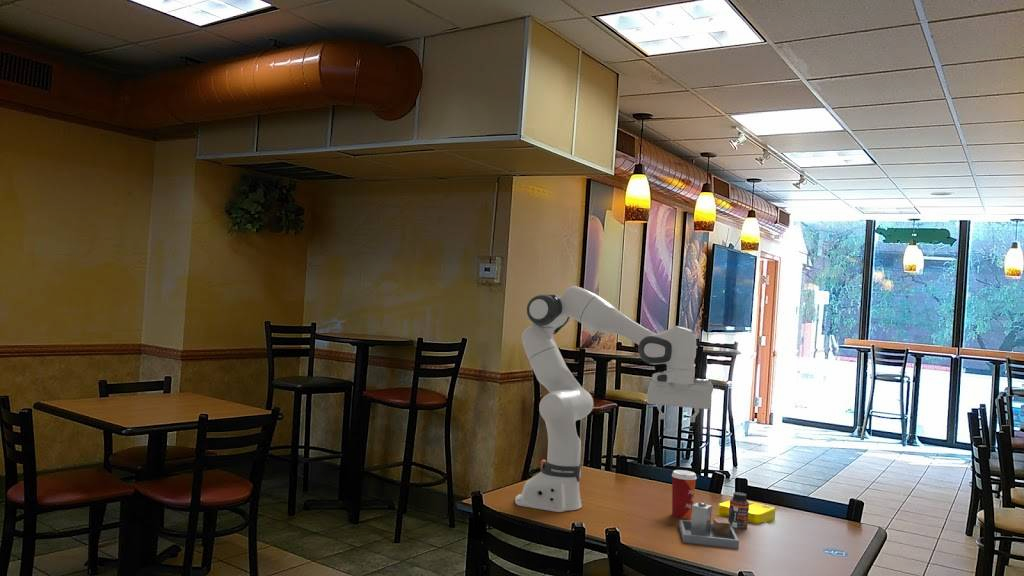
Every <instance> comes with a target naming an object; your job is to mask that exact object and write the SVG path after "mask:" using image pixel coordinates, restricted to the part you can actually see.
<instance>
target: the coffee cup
mask: <svg viewBox="0 0 1024 576" xmlns="http://www.w3.org/2000/svg"><path fill="white" fill-rule="evenodd" d="M671 479H672V480H671V481H672V482H671V483H672V485H671V487H672V488H671V506H672V507H671V510H672V512H671V513H672V516H673V517H675V518H678V519H683V520H687V519H692V505H694V497H695V490H696V480H697V479H698V477H697V473H695V472H694V471H691V470H686V469H685V470H683V469H675V470H673V471H672V474H671Z"/></svg>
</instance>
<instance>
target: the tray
mask: <svg viewBox="0 0 1024 576" xmlns="http://www.w3.org/2000/svg"><path fill="white" fill-rule="evenodd" d="M691 521H692V520H687V519H679V525H678V527H679V531H680V534H681V540H682V542H683V543H687V544H695V545H703V546H712V547H720V548H732V549H739V547H740V545H739V544H740V540H739V537H738V536H737V534H736V532H735V529H734V528H732V526H731V525H730V537H726V536H716V535H715V534H714V533H713V522H711V526H710V536H699V535H691Z"/></svg>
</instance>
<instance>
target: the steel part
mask: <svg viewBox="0 0 1024 576" xmlns="http://www.w3.org/2000/svg"><path fill="white" fill-rule="evenodd" d="M712 507H713V506H712V505H711V504H707V503H706V502H704V501H703V502H701V501H699V502H695V503H693V505H692V514H691V520H690V521H691V535H699V536H710V526H711V523H712V509H713V508H712Z"/></svg>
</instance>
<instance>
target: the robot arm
mask: <svg viewBox="0 0 1024 576" xmlns="http://www.w3.org/2000/svg"><path fill="white" fill-rule="evenodd" d="M526 314H527V317H528V318H529V319H528V320H530V321H531V322H532V324H531V325H529V326H527V327H526V328H525V329H524V330H523V332H522V333H521V342H522V345H523V348H524V352H525V355H526V357H527V359H528V362H529V365H530V367H531V369H532V371H533V373H534V375H535V377H536V380H537V381H538V383H539V384H540V385H542V386H543V388H546V390H547V391H548V392H549V393H547V394H546V395H543V397H542V398H541V399H540V402H539V405H538V407H539V409H538V411H539V414H540V417H542V419H543V421H544V422H545V426H546V431H547V457H546V458H547V459H541V461H540V469H539V470H540V472H539V473H536V474H535V475H533V476H532V477H531V478H529V479H528V480H526V482H525V483H524V485H523V488H522V492H521V493H519V494H518V495H516V496H515V499H514V502H515V504H516V505H517V506H520V507H527V508H531V509H532V508H533V509H538V510H545V511H550V512H556V513H563V512H567V511H575V510H579V509H581V508H582V499H581V493H580V481H581V474H582V467H581V466H582V464H581V463H580V461H581V451H582V447H581V446H582V442H581V439H580V437H579V435H578V432H577V427H576V426H577V425H576V422H577V421H580V420H582V419H584V418H585V417H587V416H588V415H590V413H591V412H592V411H593V409H594V398H593V396H592V394H591V393H590V392H588V390H586V389H585V388H584V387H583V386H581V384H580V383H579V382H578V380H577V379H576V377H575V376H574V375H573V373H572V372H571V370H570V369H569V367H568V366H567V364H566V362H565V360H564V357H563V356H562V354H561V351H560V349H559V347H558V345H557V343H556V341H555V339H554V335H556V334H557V333H559V332H560V330H561V329H563V327H565V326H566V325H567V323H568V322H569V320H570V318H571V319H573V320H576V321H577V322H578V323H579V324H581V325H583V326H585V327H586V328H589V329H591V330H593V331H596V332H598V333H599V332H600V333H603V334H605V333H607V334H612V335H613V334H615V335H618V336H621V337H624V338H625V339H627V340H629V341H631V342H633V343H635V344H636V345H637V346H638V347H637V348H638V349H637V351H638V355H639V357H640V358H641V360H642V362H645V363H646V364H649V365H666V370H664V371H659V372H655V373H653V374H652V375H651V376H652V377H651V379H652V381H651V382H650V383H649V386H648V389H647V394H646V402H647V404H649V405H656V406H657V410H658V412H659V419H660V420H665V419H666V414H665V413H664V412H662V409H663V408H662V407H663V406H668V407H669V406H670V407H679V408H689V409H690V408H691V409H692V408H693V409H694V413H693V414H692V415H690V416H689V418H690V419H689V422H690V423H696V417H697V416H698V414H700V409H701V410H702V409H703V410H709V409H711V407H712V393H713V392H714V391H713V390H714V384H713V383H712V381H709V379H703V378H702V379H701V378H695V374H696V368H695V367H696V366H695V359H696V357H697V336H696V332H694V330H692V329H690V328H688V327H684V326H679V325H673V326H671V327H670V328H669V329H666V330H665V331H662V332H659V333H658V332H655V331H652V330H650V329H649V328H647V327H645V326H643V325H641V324H640V323H638V322H637V321H634V320H632V319H631V318H629V317H628V316H626V315H625V314H624V313H623V312H621V311H620V310H619V309H617V308H616V307H615V306H614V305H612V304H611V303H610V302H608V301H607V300H605V299H604V298H602V296H599V295H598V294H596V293H594V292H593V291H590V290H587V289H586V288H583V287H580V286H577V285H571V286H569V287H567V288H566V289H565V290H564V291H563V292H562V294H561V295H560V296H558V295H557V294H539V295H535V296H534V297H532V298H531V299H530V300H529V301H528V302H527V306H526Z"/></svg>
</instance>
